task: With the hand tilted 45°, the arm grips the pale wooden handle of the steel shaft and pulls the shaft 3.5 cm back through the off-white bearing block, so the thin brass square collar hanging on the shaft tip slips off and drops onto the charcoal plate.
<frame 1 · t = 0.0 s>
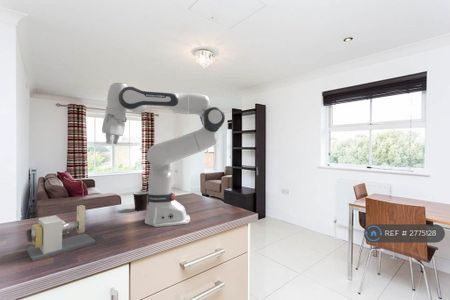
hand: (112, 143, 108), 39 cm above the worktop, tool pointing down, fingers open, 8 cm apart
shaft: (59, 223, 80), point 9 cm above the worktop, slide at 0.0 cm, touching brass collar
brass collar: (36, 244, 75), point 3 cm above the worktop, touching shaft
bearing housing: (49, 250, 78), on the worktop
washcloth: (49, 233, 96), on the worktop
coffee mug: (140, 210, 131), on the worktop
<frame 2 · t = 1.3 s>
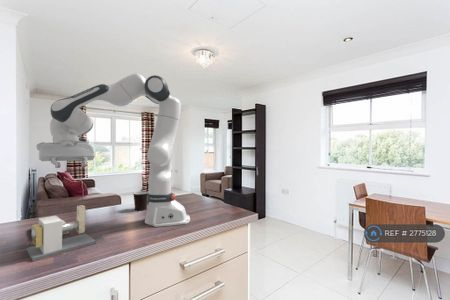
hand: (71, 166, 93), 29 cm above the worktop, tool tilted 45°, fingers open, 8 cm apart
nothing on the worktop moved.
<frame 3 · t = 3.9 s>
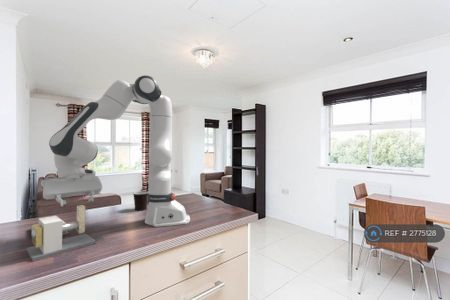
hand: (78, 203, 88), 14 cm above the worktop, tool tilted 45°, fingers open, 8 cm apart
nothing on the worktop moved.
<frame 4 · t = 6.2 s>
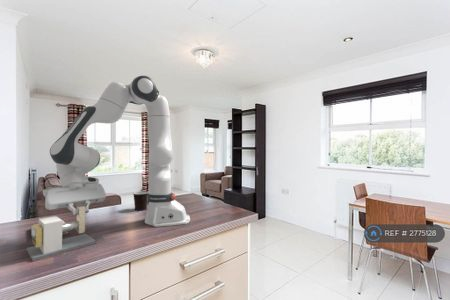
hand: (81, 213, 85), 11 cm above the worktop, tool tilted 45°, fingers closed on shaft, 2 cm apart
shaft: (59, 223, 80), point 9 cm above the worktop, slide at 0.0 cm, touching brass collar, gripper
everything else where it was.
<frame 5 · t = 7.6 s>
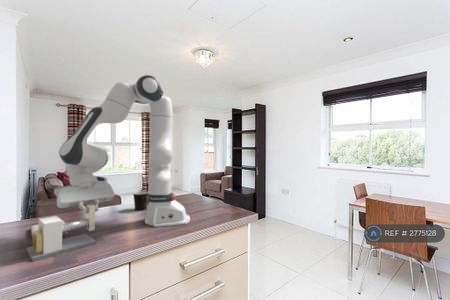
hand: (91, 211, 88), 11 cm above the worktop, tool tilted 45°, fingers closed on shaft, 2 cm apart
shaft: (71, 220, 83), point 9 cm above the worktop, slide at 3.5 cm, touching gripper
brass collar: (37, 250, 76), point 1 cm above the worktop, touching bearing housing
everything else where it was.
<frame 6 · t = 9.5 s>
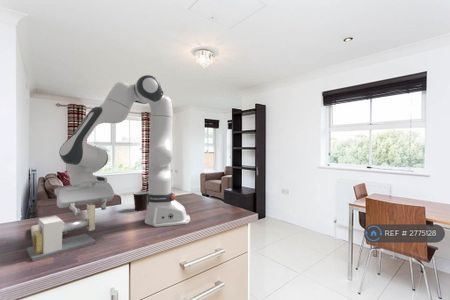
hand: (91, 211, 88), 11 cm above the worktop, tool tilted 45°, fingers open, 8 cm apart
shaft: (71, 220, 83), point 9 cm above the worktop, slide at 3.5 cm
everything else where it was.
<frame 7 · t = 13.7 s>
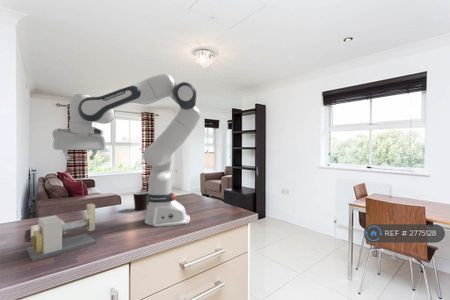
hand: (80, 159, 101), 31 cm above the worktop, tool pointing down, fingers open, 8 cm apart
nothing on the worktop moved.
at the end: shaft slide at 3.5 cm; brass collar point 1.0 cm above the worktop; brass collar touching bearing housing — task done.
